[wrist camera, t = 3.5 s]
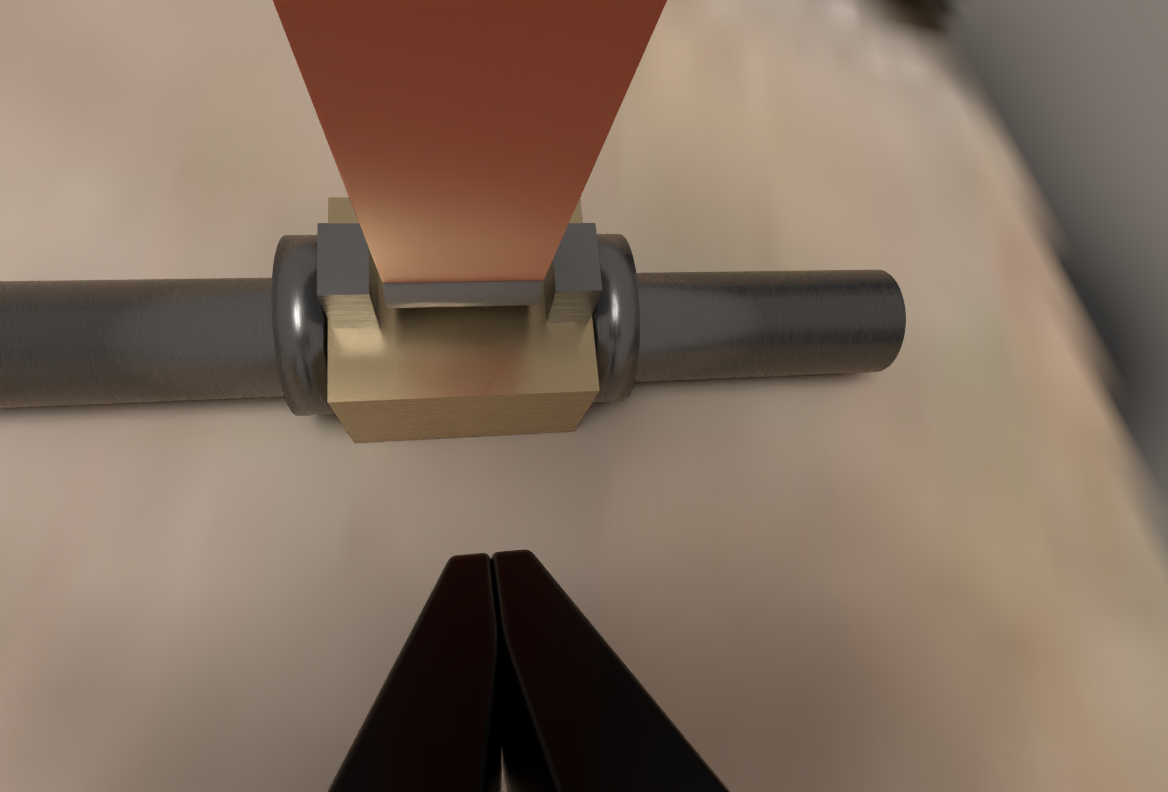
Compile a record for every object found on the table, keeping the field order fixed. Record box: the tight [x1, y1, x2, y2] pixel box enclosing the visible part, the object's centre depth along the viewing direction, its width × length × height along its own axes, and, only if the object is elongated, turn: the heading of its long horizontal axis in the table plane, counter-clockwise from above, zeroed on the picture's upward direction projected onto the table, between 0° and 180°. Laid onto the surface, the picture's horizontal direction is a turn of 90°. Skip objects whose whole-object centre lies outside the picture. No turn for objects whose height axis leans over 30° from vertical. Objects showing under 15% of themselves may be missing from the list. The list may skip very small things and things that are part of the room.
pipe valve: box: [0, 198, 906, 443], centre depth 18 cm, size 5×24×6 cm, turn 95°
